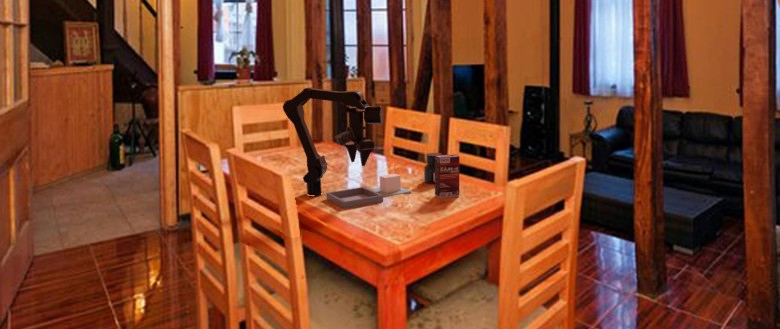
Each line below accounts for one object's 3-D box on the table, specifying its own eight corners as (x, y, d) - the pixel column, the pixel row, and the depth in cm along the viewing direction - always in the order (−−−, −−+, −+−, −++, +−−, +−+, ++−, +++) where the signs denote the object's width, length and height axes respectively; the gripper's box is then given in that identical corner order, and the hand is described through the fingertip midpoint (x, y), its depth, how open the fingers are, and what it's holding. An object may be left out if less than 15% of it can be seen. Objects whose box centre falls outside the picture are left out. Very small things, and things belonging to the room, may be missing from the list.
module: (380, 190, 222) (379, 175, 220) (395, 187, 225) (394, 173, 224) (385, 192, 218) (385, 178, 216) (400, 190, 221) (400, 175, 220)
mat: (370, 191, 224) (370, 189, 224) (396, 187, 229) (395, 185, 229) (384, 197, 213) (384, 195, 213) (411, 193, 219) (411, 191, 219)
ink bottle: (439, 185, 230) (438, 157, 228) (420, 183, 235) (419, 155, 232) (448, 180, 238) (448, 153, 236) (430, 178, 243) (430, 151, 240)
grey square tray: (326, 200, 212) (326, 192, 212) (363, 194, 220) (363, 186, 219) (344, 210, 199) (343, 202, 198) (383, 203, 206) (382, 195, 206)
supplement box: (439, 198, 210) (438, 158, 207) (434, 195, 214) (434, 155, 211) (460, 196, 212) (460, 156, 209) (455, 193, 217) (455, 153, 213)
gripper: (327, 123, 215) (329, 162, 218) (347, 128, 199) (349, 171, 202) (352, 120, 220) (354, 159, 224) (374, 125, 204) (376, 167, 208)
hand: (358, 163), depth 214 cm, fingers open, 9 cm apart
